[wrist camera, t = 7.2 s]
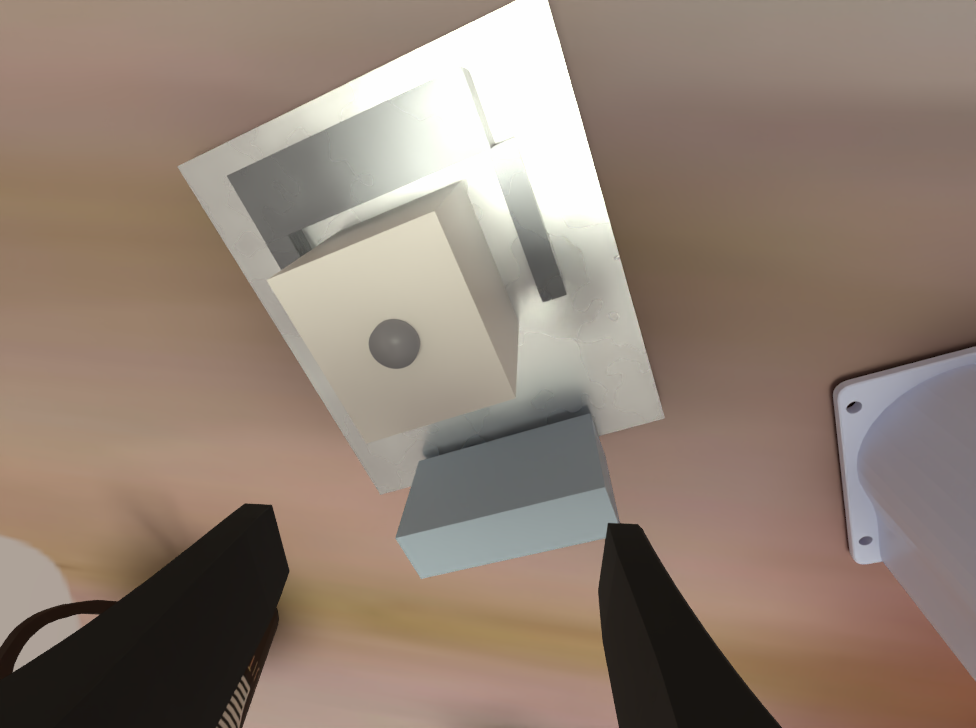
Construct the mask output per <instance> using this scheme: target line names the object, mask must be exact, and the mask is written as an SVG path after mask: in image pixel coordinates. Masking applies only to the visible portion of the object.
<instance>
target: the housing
mask: <svg viewBox="0 0 976 728" xmlns="http://www.w3.org/2000/svg"><path fill="white" fill-rule="evenodd" d="M267 282H268V283H269V285H270V287H271V288H272V290H273V292H274V293H275V295H276V297H277V298H278V300H279V302H280V303H281V305H282V306H283V308H284V310H285V311H286V313H287V315H288V316H289V318H290V320H291V321H292V323H293V324H294V326H295V328H296V329H297V331H298V333H299V334H300V336H301V338H302V339H303V341H304V343H305V344H306V346H307V347H308V349H309V351H310V352H311V354H312V356H313V357H314V359H315V361H316V362H317V364H318V365H319V367H320V369H321V370H322V372H323V374H324V375H325V377H326V379H327V380H328V382H329V384H330V385H331V387H332V388H333V390H334V392H335V393H336V395H337V397H338V398H339V400H340V402H341V403H342V405H343V406H344V408H345V410H346V411H347V413H348V415H349V416H350V418H351V420H352V421H353V423H354V425H355V426H356V428H357V429H358V431H359V433H360V434H361V436H362V438H363V439H364V441H365V443H366V444H367V443H370V442H373V441H377V440H380V439H383V438H387V437H390V436H393V435H396V434H400V433H403V432H406V431H410V430H413V429H416V428H420V427H423V426H426V425H429V424H433V423H436V422H439V421H443V420H446V419H449V418H452V417H456V416H459V415H462V414H466V413H469V412H472V411H476V410H479V409H482V408H485V407H489V406H492V405H495V404H499V403H502V402H505V401H508V400H512V399H515V398H516V381H517V357H518V333H519V322H518V319H517V317H516V314H515V312H514V309H513V307H512V304H511V302H510V299H509V297H508V294H507V292H506V289H505V287H504V284H503V282H502V279H501V277H500V274H499V271H498V269H497V266H496V264H495V261H494V259H493V256H492V254H491V251H490V249H489V246H488V244H487V241H486V239H485V236H484V234H483V231H482V229H481V226H480V224H479V221H478V219H477V216H476V214H475V211H474V209H473V206H472V204H471V201H470V199H469V196H468V194H467V191H466V189H465V186H464V184H463V181H462V180H460V181H458V182H455V183H453V184H450V185H448V186H446V187H443V188H441V189H439V190H436V191H434V192H431V193H429V194H427V195H424V196H422V197H420V198H417V199H415V200H412V201H410V202H408V203H405V204H403V205H401V206H398V207H396V208H394V209H391V210H389V211H386V212H384V213H382V214H379V215H377V216H375V217H372V218H370V219H367V220H365V221H363V222H360V223H358V224H356V225H353V226H351V227H348V228H346V229H344V230H341V231H339V232H337V233H336V234H334V235H333V236H331V237H330V238H328V239H327V240H325V241H324V242H322V243H321V244H319V245H318V246H316V247H315V248H313V249H312V250H310V251H309V252H307V253H306V254H304V255H303V256H301V257H300V258H298V259H297V260H295V261H294V262H292V263H291V264H289V265H288V266H286V267H285V268H284V269H282V270H281V271H279V272H278V273H276V274H275V275H273V276H272V277H270V278H269V279H267Z"/></svg>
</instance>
